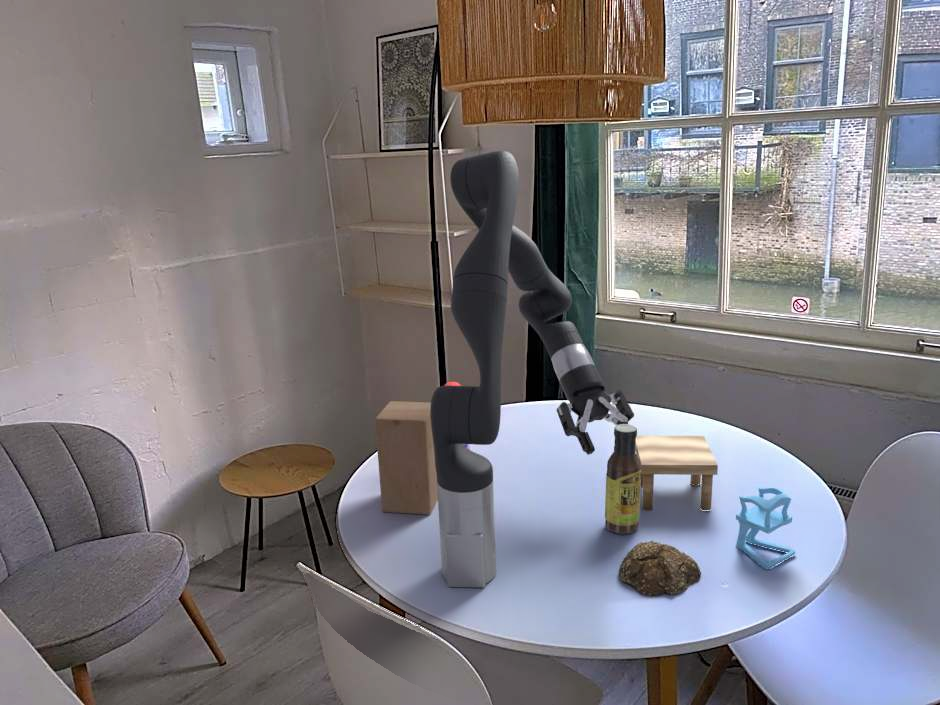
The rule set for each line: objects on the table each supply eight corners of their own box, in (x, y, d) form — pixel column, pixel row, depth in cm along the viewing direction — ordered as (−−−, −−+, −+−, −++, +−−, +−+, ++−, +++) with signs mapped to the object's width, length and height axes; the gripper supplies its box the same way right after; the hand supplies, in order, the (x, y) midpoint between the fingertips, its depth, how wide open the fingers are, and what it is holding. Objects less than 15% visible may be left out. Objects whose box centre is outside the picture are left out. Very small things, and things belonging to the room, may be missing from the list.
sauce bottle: (623, 540, 141) (625, 437, 135) (597, 526, 145) (598, 427, 140) (646, 528, 144) (649, 428, 139) (621, 515, 149) (623, 418, 143)
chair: (755, 536, 140) (758, 475, 137) (796, 555, 133) (801, 492, 130) (726, 550, 136) (730, 487, 133) (767, 571, 129) (772, 505, 126)
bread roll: (644, 548, 138) (645, 523, 137) (709, 573, 130) (710, 546, 129) (603, 579, 130) (603, 552, 128) (669, 608, 121) (670, 580, 120)
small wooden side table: (715, 513, 149) (717, 465, 146) (640, 512, 150) (641, 464, 147) (701, 480, 162) (703, 435, 159) (633, 479, 163) (634, 435, 161)
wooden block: (430, 515, 152) (424, 420, 146) (381, 512, 154) (374, 418, 148) (442, 492, 161) (437, 401, 156) (396, 489, 163) (389, 400, 158)
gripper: (552, 369, 145) (586, 447, 138) (615, 357, 150) (651, 431, 144) (538, 388, 151) (570, 464, 144) (599, 375, 157) (633, 448, 150)
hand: (610, 448), depth 144 cm, fingers open, 8 cm apart
